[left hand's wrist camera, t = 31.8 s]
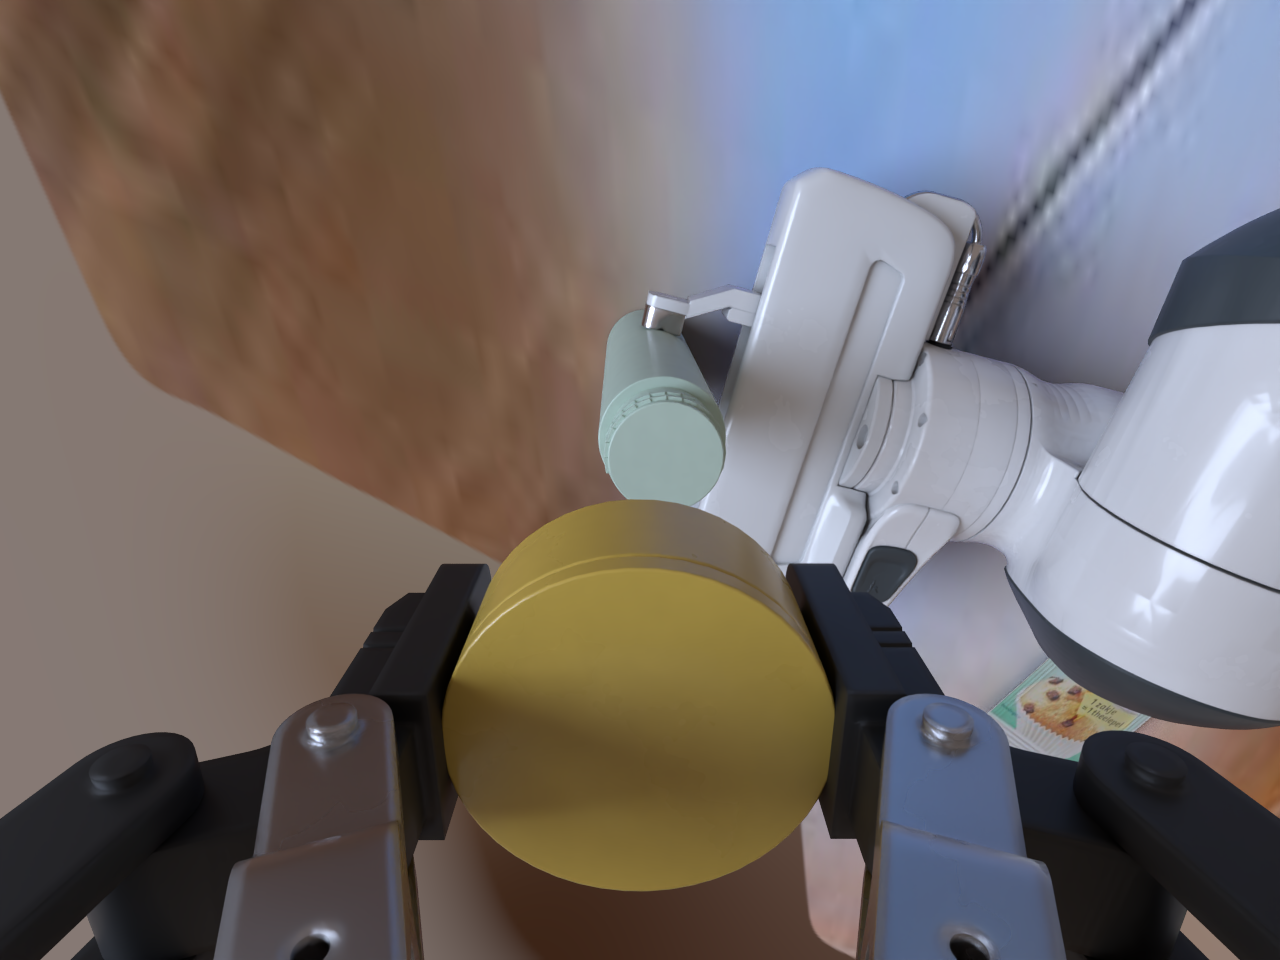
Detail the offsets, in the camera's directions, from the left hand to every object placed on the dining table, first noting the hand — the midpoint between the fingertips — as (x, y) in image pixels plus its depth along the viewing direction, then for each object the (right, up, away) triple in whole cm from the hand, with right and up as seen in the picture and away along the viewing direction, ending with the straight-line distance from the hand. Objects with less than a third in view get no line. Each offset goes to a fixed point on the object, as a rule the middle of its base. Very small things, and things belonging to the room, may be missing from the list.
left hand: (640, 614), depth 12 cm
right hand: (0, +7, +21) cm, 22 cm away
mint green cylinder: (0, +9, +27) cm, 28 cm away
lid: (0, -1, -3) cm, 3 cm away
